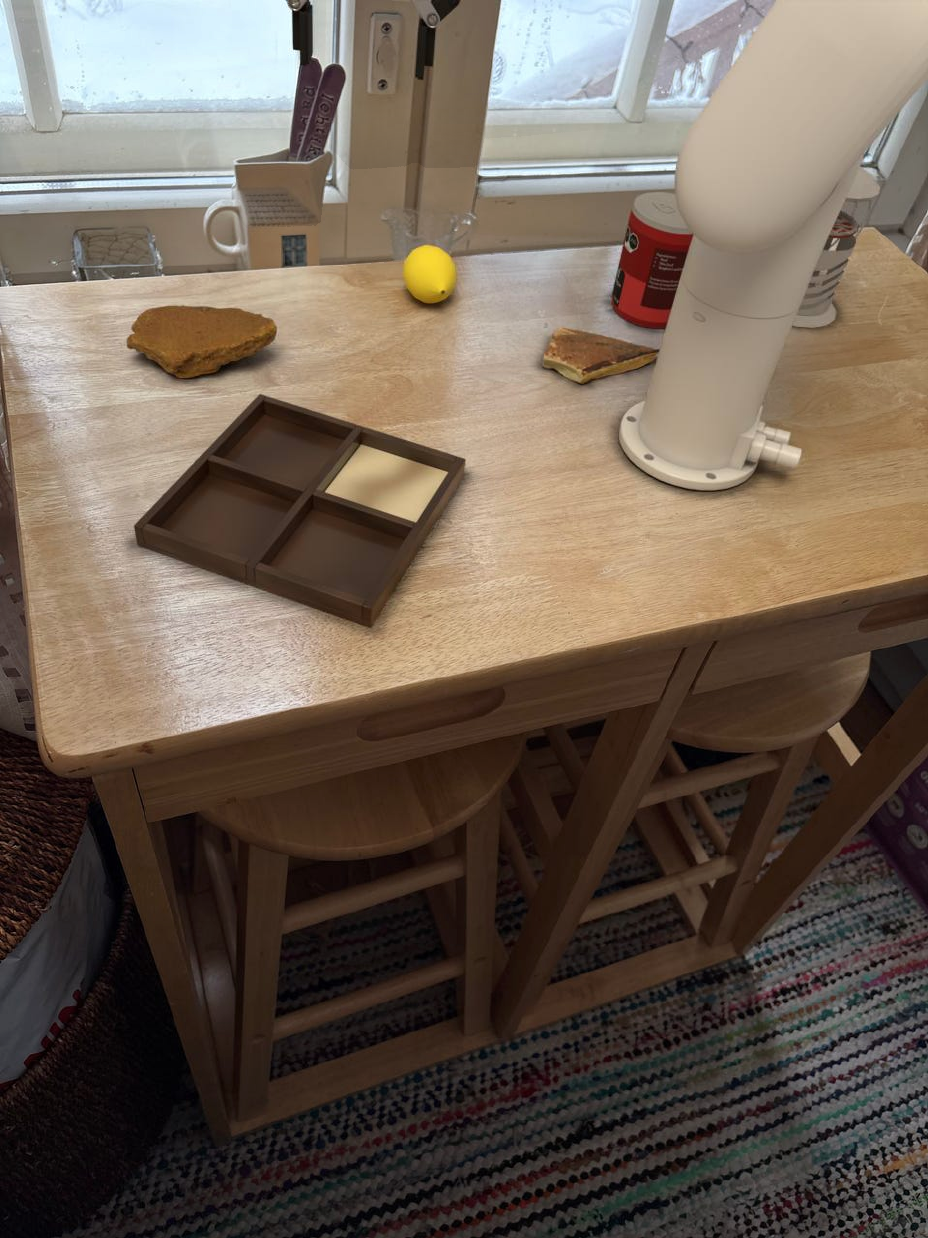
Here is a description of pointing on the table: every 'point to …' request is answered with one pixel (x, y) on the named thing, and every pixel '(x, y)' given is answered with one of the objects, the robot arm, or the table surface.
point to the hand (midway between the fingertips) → (363, 67)
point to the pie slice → (593, 355)
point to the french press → (835, 257)
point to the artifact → (199, 337)
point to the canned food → (651, 260)
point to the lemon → (429, 274)
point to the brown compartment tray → (305, 508)
